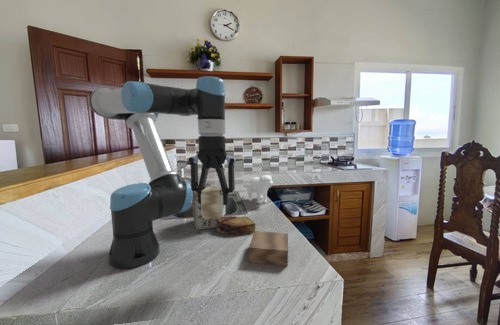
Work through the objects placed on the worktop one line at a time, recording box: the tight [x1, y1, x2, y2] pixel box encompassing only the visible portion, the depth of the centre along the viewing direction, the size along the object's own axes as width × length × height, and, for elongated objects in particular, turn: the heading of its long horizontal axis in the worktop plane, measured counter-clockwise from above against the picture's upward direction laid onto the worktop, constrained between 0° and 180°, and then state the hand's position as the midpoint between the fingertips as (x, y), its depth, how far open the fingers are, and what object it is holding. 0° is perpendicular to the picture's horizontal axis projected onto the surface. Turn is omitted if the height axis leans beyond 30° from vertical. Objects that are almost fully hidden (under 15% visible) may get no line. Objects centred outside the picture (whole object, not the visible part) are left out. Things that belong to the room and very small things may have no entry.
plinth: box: [248, 230, 289, 267], centre depth 77 cm, size 12×12×5 cm
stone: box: [216, 215, 256, 235], centre depth 96 cm, size 15×9×5 cm, turn 103°
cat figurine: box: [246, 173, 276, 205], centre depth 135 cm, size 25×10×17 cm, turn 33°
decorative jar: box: [192, 182, 217, 231], centre depth 102 cm, size 12×12×18 cm
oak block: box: [202, 186, 222, 219], centre depth 68 cm, size 5×5×8 cm
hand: (213, 214), depth 68 cm, fingers closed on oak block, 5 cm apart
